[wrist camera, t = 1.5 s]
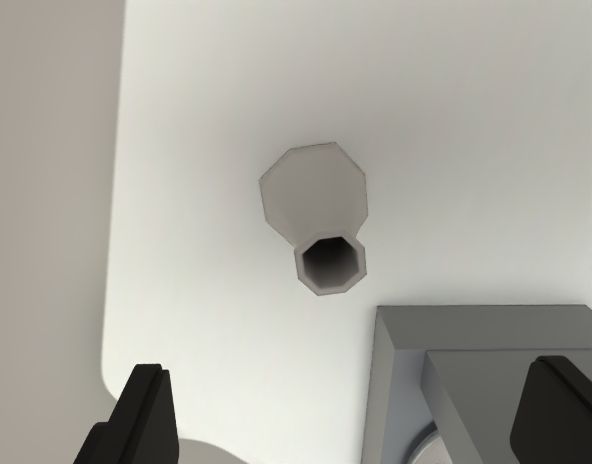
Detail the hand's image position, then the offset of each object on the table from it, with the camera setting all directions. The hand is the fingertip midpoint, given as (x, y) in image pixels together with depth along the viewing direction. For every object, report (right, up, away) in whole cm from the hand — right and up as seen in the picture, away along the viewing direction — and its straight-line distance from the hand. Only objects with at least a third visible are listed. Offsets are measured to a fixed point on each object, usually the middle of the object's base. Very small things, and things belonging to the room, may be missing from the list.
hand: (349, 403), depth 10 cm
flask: (0, +7, +17) cm, 18 cm away
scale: (+13, -9, +23) cm, 28 cm away
